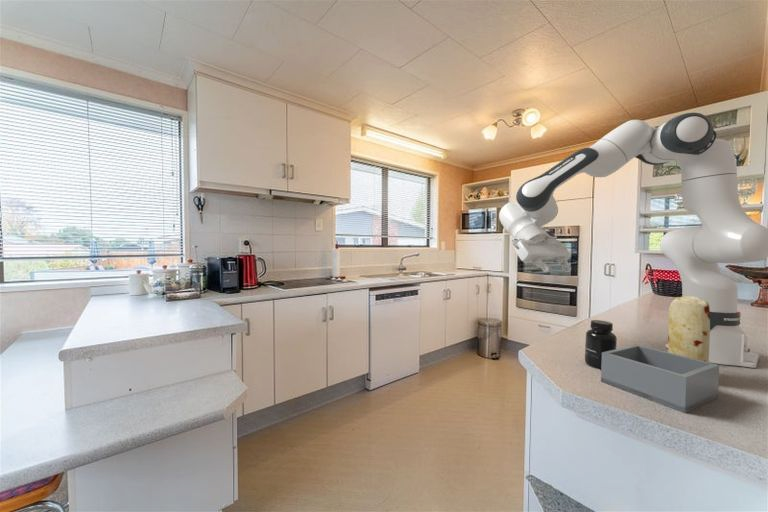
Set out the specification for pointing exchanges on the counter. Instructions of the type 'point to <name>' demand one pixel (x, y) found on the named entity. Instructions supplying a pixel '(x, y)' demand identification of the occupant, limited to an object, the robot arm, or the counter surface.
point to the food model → (689, 328)
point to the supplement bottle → (599, 342)
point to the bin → (661, 376)
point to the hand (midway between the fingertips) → (558, 271)
